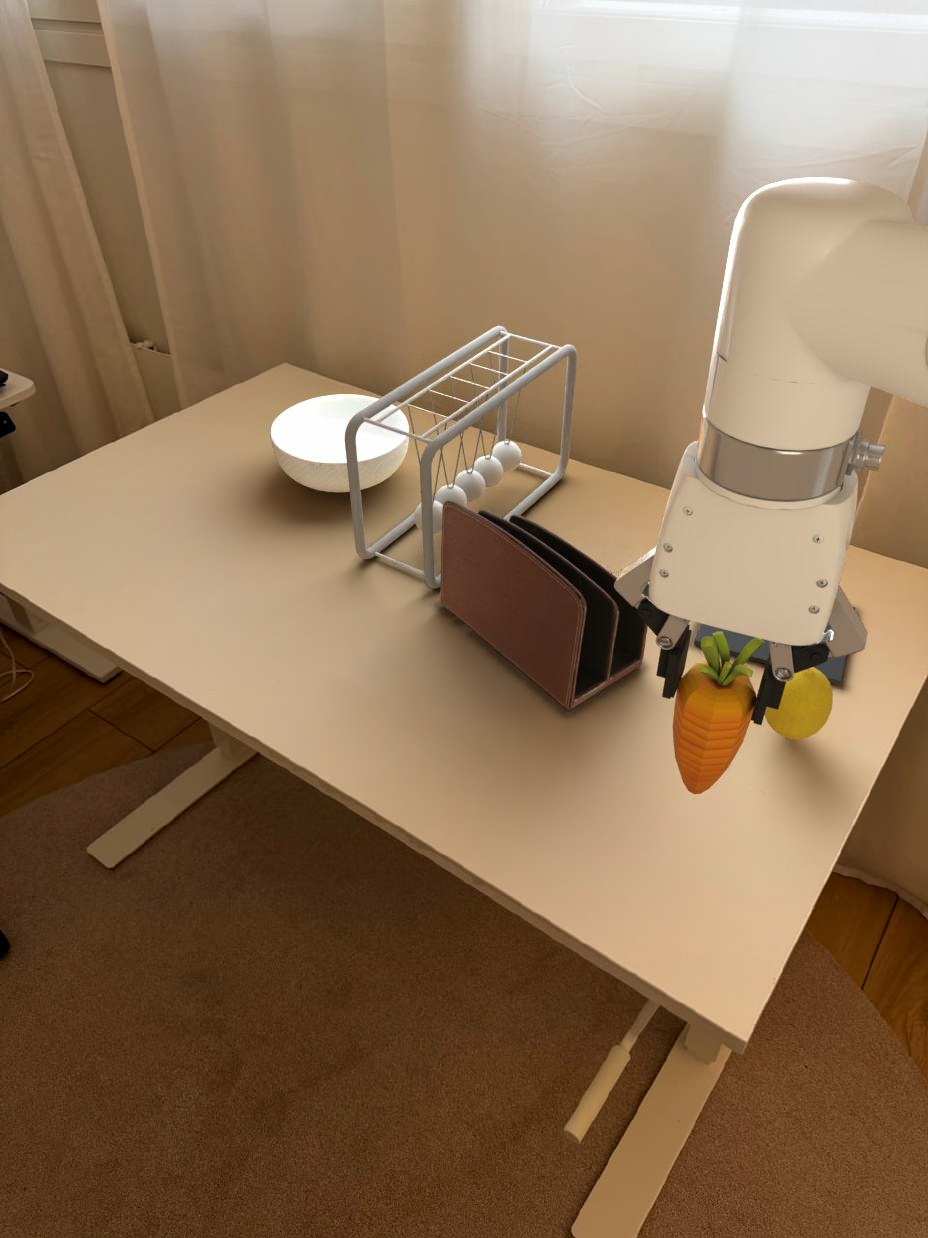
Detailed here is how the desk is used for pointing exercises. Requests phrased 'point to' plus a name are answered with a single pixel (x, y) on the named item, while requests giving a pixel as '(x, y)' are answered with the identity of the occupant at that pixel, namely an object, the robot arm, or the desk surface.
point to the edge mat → (739, 641)
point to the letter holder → (538, 602)
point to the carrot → (712, 712)
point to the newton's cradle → (485, 468)
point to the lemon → (802, 705)
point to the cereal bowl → (337, 442)
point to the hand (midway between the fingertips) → (716, 694)
